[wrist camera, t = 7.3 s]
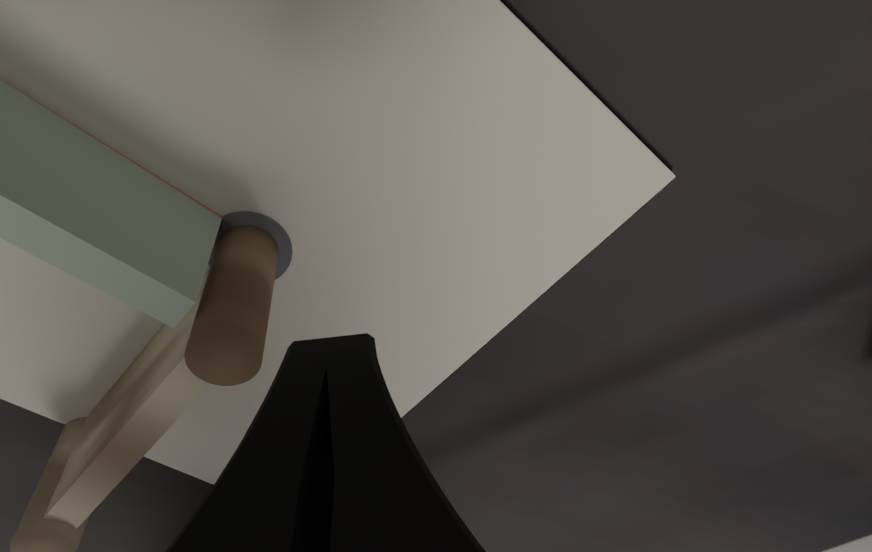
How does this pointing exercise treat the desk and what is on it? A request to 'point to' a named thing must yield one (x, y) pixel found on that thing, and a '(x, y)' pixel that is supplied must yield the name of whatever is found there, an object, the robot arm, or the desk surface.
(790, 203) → the desk surface
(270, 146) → the card
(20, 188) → the fence swing panel
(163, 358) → the fence fixed section
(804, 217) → the desk surface
